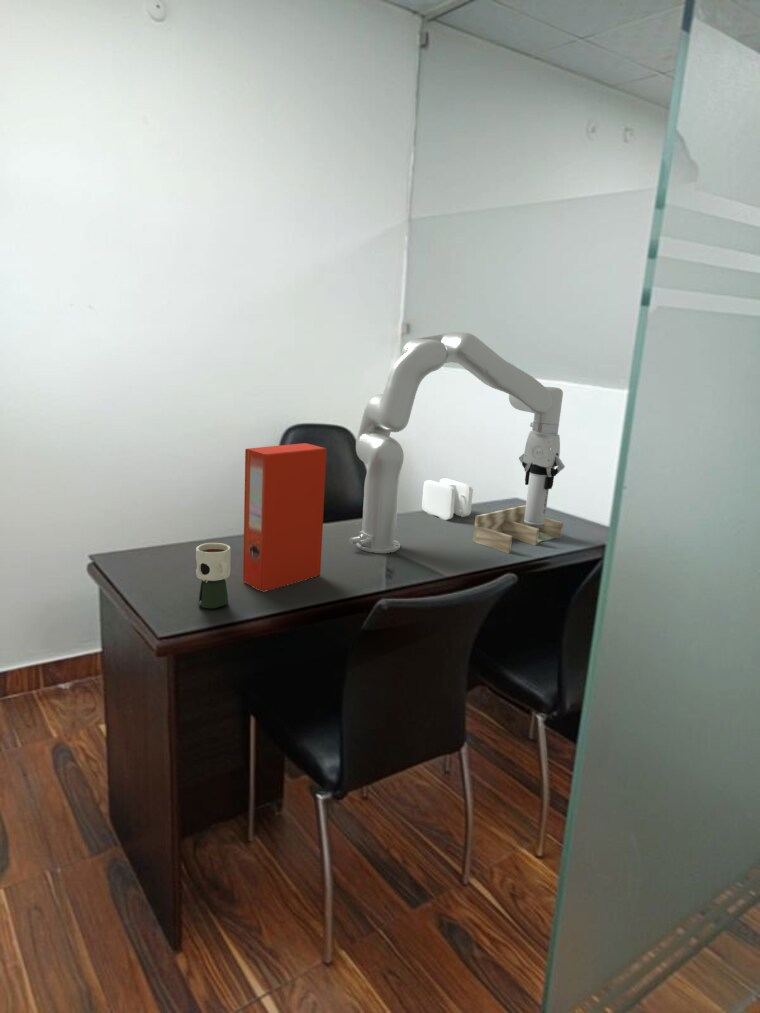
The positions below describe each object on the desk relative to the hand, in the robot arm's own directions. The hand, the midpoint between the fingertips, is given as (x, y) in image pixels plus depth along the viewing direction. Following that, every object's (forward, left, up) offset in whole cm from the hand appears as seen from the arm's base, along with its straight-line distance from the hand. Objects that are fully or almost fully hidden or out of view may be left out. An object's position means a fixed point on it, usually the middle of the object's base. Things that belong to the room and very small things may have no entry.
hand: (538, 486), depth 206 cm
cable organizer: (-5, +32, -17) cm, 36 cm away
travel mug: (0, 0, -13) cm, 13 cm away
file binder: (-86, +13, -16) cm, 88 cm away
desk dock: (-7, 0, -16) cm, 18 cm away
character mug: (-107, +9, -16) cm, 108 cm away
